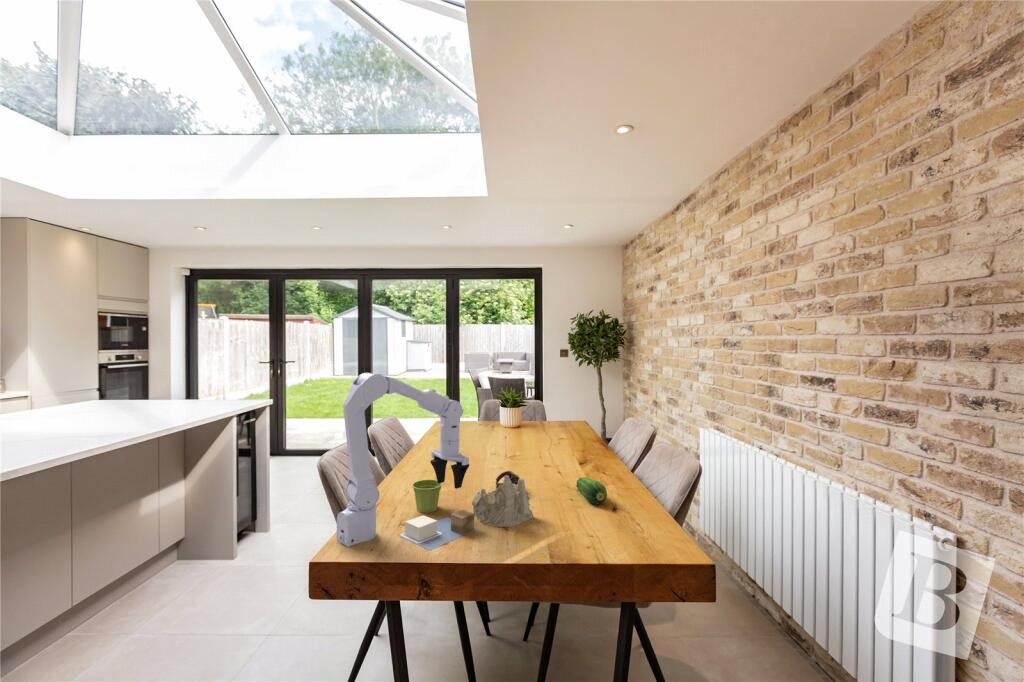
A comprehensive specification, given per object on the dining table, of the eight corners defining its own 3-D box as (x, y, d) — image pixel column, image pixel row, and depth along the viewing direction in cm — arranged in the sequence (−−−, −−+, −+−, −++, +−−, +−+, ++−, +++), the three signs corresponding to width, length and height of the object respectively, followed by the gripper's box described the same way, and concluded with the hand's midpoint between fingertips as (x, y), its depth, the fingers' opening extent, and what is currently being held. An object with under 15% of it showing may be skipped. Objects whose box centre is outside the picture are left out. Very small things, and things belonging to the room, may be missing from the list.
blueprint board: (429, 554, 107) (429, 549, 107) (398, 539, 116) (398, 535, 116) (478, 532, 120) (478, 528, 120) (447, 520, 129) (447, 516, 129)
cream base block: (419, 541, 113) (419, 527, 113) (405, 534, 116) (405, 521, 117) (437, 533, 117) (437, 520, 117) (423, 527, 121) (423, 515, 121)
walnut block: (462, 535, 116) (462, 518, 116) (450, 530, 119) (451, 514, 119) (474, 530, 120) (474, 513, 120) (463, 525, 123) (463, 509, 123)
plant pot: (447, 508, 139) (447, 480, 139) (434, 519, 130) (434, 489, 130) (420, 505, 142) (420, 478, 142) (406, 515, 132) (406, 487, 133)
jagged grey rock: (541, 519, 129) (537, 468, 130) (499, 537, 119) (495, 481, 119) (507, 508, 141) (504, 461, 142) (465, 523, 130) (462, 473, 131)
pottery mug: (527, 496, 151) (517, 478, 149) (503, 508, 152) (492, 490, 149) (523, 478, 163) (513, 460, 161) (500, 489, 163) (490, 471, 161)
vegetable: (594, 481, 140) (576, 465, 160) (584, 502, 139) (568, 483, 159) (613, 491, 140) (594, 474, 160) (604, 511, 140) (585, 492, 160)
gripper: (476, 440, 130) (476, 486, 129) (443, 434, 139) (443, 477, 139) (458, 444, 124) (458, 492, 124) (426, 437, 134) (425, 482, 133)
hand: (449, 485), depth 131 cm, fingers open, 7 cm apart
